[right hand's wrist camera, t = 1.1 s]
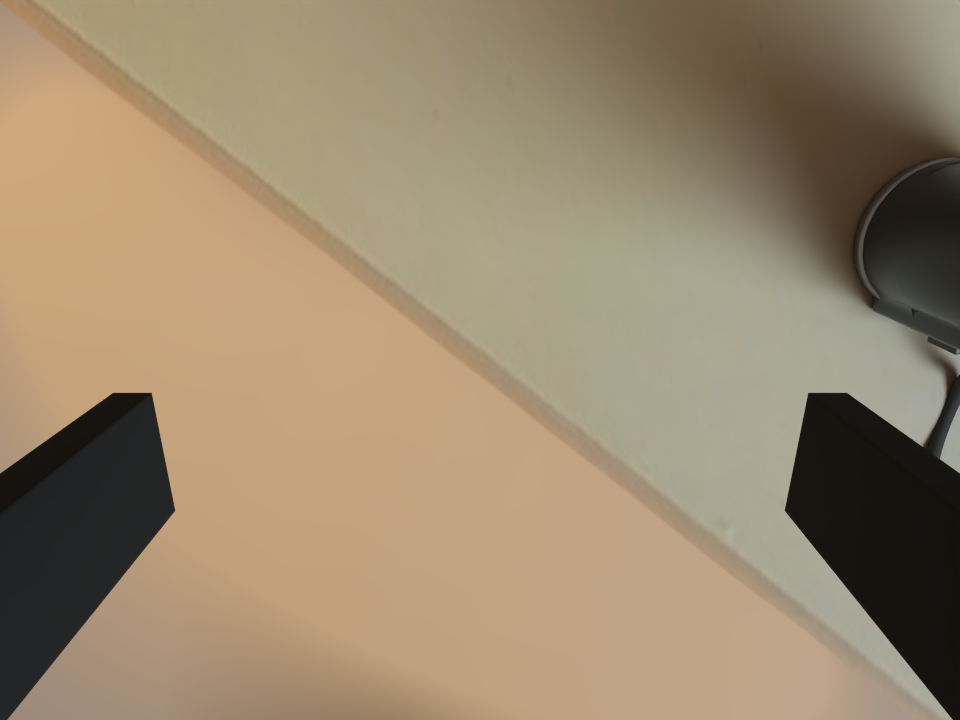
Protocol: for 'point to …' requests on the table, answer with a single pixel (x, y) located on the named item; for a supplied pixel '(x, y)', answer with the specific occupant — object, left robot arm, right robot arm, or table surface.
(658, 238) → the table surface
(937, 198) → the left robot arm
